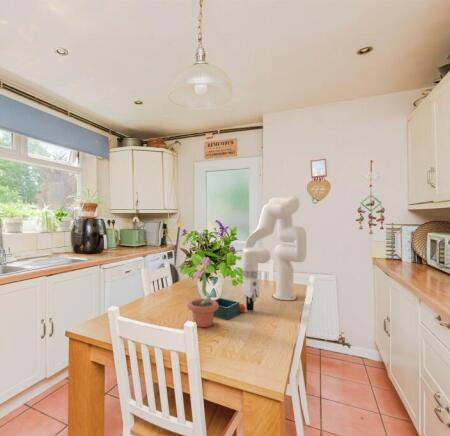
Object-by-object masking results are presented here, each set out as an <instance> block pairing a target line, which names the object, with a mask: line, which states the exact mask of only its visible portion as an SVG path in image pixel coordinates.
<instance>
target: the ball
mask: <svg viewBox="0 0 450 436" xmlns="http://www.w3.org/2000/svg"><path fill="white" fill-rule="evenodd" d="M245 311H246V306H245V305H244V304H243V303H239V313H244V312H245Z"/></svg>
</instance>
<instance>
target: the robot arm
mask: <svg viewBox="0 0 450 436" xmlns="http://www.w3.org/2000/svg"><path fill="white" fill-rule="evenodd" d="M300 205H301V202H300V198H298V197H297V196H293V195H291V196H289V195H288V196H275V197H271V198H270V199H269V200H268V203H266V204H265V205H263V207H262V210H261V213H260V216H259V217H260V218H259V221H258V225H257V227H256V229H255V230H254V231H253V232H251V234H249V236H248V237H247V239H246V240H245V242H244V247H243V250H242V284H241V285H242V286H241V289H242V290H241V291H242V294H243V295H244V297H245V301H246V302H245V303H246V304H245V305H246V306H245V310H246V311H248V312H251V311H254V309H255V308H254V307H255V306H254V305H255V302H257V299H259V298H260V283H259V264H266V263H268V262H269V261H270V260H271V258H272V257H271V252H270V251H269V249H267V248H261V247H255V245H256V243H257V242H258V241H260V240H261V239H264V238H266V237H268V236H271V235H273V233H274V231H275V227H276V228H277V229H276V236H277V240H278V241H279V242H282V243H281V244H277V245H276V246H275V248H274V258H275V263H276V264H275V274H276V275H275V278H276V279H275V293H273V296H272V297H273V298H274V299H276V300H280V301H295V300H297V296H296V295H295V294H294V291H295V289H294V266H293V264H292V263H291V262H294V263H304V262H305V260H306V258H307V232H306V230H305V228H304V227H302V226H298V225H297V226H295V225H293V215H294V214H295V213H296V212H298V210H299V208H300ZM283 243H284V244H283ZM286 243H291V244H286ZM243 282H244V283H243Z"/></svg>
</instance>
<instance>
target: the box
mask: <svg viewBox="0 0 450 436" xmlns="http://www.w3.org/2000/svg"><path fill="white" fill-rule="evenodd" d="M213 300H214V301H216V302H217V303H218V305H219V307H218V309H217V310H216V311H214V317H216V318H219V319H223V320H226V321H227V320H230V319H232V318H234V317H235V316H236V315H239V314H240V312H239V304H240V301H236V300H232V299H228V298H223V297H217V298H216V299H213Z"/></svg>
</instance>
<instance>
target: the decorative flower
mask: <svg viewBox="0 0 450 436" xmlns="http://www.w3.org/2000/svg"><path fill="white" fill-rule="evenodd" d="M200 262H201V264H197V266H195V269H194V271H195V272H194V273H193V275H192V277H193V278H194V280H198V279H200V278H202V279H201V280H202V283H201V292H202V294H203V295H204V296H205V297H206V298H195V299H192V300H190V301H189V302H188V303H187V309H188V310H189V311H190V312H192V322H193V321H194V322H196V324H197V326H196V327H199V328H209V327H211V326H213V324H214V319H215V318H214V317H215V316H214V311H216V310H217V309H218V307H219V305H218V303H217V302H216V301H214V300H215V299H211V298H212V297H215V296H216V294H212V295H211V294H210V293H209V292H208V291H207V275H206V272H207V271H206V269H207V268H208V267H210V265H211V261H210V258H209V256H207V257H206V256H203V257H202V258H201V261H200ZM194 322H193V323H194Z"/></svg>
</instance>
